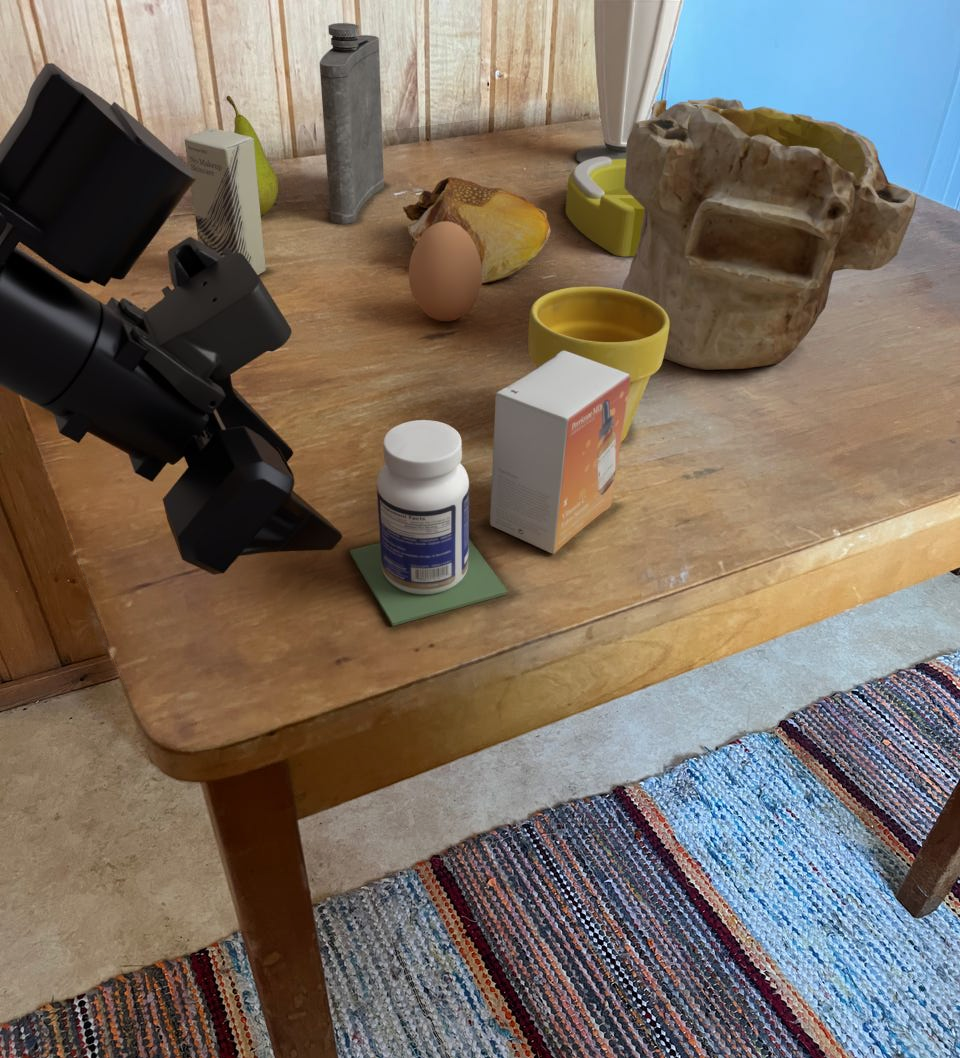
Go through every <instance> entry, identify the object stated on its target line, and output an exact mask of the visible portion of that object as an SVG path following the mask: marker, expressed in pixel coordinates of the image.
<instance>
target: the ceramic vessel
mask: <svg viewBox="0 0 960 1058" xmlns="http://www.w3.org/2000/svg"><path fill="white" fill-rule="evenodd" d="M667 101H668V100H666V99H660V100H658V101H655V103H654V104H653V107H652V112H651V115H650V118H649V120H644V121H640V122H636V123H634V125H633V128H632V131H631V133H630V135H629V138H628V140H627V145H626V171H625V183H624V188H625V189H626V190H627V191H628V192H629V193H630V194H631V195H632V196H633V197H634V198H635V199H636V200H637V201H638V202H639V203H640V204H641V205H642V206H643V207H644V215H643V221H642V225H641V237H640V241H639V244H638V247H637V250H636V253H635V255H634V256H633V258H632V260H631V262H630V266H629V267H630V268H629V272H628V274H627V276H626V277H625V279H624V281H623V284H622V288H621V290H624V291H628V292H632V293H635V294H638V295H641V296H643V297H646V298H648V299H650V300H652V301H653V302H655V303H656V304H658V305H659V306H660V307H662V308H663V309H664V311H665V312H666V313H667V315H668V318H669V322H670V325H669V333H668V339H667V344H666V349H665V353H664V357H663V360H667V361H670V362H672V363H675V364H679V365H681V366H683V367H687V368H689V369H690V368H691V369H698V370H704V371H708V370H709V371H710V370H711V371H713V370H742V369H751V368H756V367H757V368H758V367H764V366H771V365H772V366H773V365H778V364H780V363H782V362H783V361H784V360H785V359H787V357H789V356H790V355H791V354H792V353H793V352H794V351H795V350H796V349H797V348H798V346H799V345H800V343H801V342H802V341H803V340H804V339H805V337H806V336H807V335H808V334H809V332H810V331H811V330H812V329H813V327H814V325H816V322H817V320H818V319H819V317H820V316H821V314H822V313H823V312H824V310H825V309H826V307H827V302H828V300H829V299H828V298H829V294H830V293H829V292H830V288H831V285H832V279H833V275H834V273H835V272H838V271H843V270H855V271H856V270H857V271H874V270H877V269H882V268H883V267H884V266H885V265H887V264H889V263H890V262H891V261H892V260H893V259H894V258H895V257H896V256H897V255H898V253H899V250H900V248H901V246H902V244H903V241H904V237H905V235H906V233H907V231H908V227H909V225H910V223H911V221H912V218H913V215H914V214H915V210H916V202H917V194H916V193H915V192H913V191H911V190H909V189H906V188H904V187H901V186H899V185H896V184H893V183H890V182H889V180H888V177H887V175H886V172H885V170H884V167H883V166H882V164H881V162H880V159H879V151H878V149H877V146H876V145H875V144H874V143H873V141H871V140H870V139H869V138H868V137H866V136H864V135H861V134H860V133H859V132H857V131H856V130H853V129H849V128H848V127H845V126H843V124H840V123H838V122H836V121H827V120H819V119H815V118H813V117H812V116H810V115H806V114H799V113H788V112H785V111H782V110H779V109H776V108H771V107H766V106H760V107H754V108H751V109H746V108H745V107H744V105H743V103H742V101H741V100H739V99H730V100H729V99H726V98H722V97H717V96H715V97H712V98H709V99H708V98H707V99H688V100H687V101H679V102H677V103H675V104H673V105H672V106H670V107H668V109H667V104H668V103H667Z"/></svg>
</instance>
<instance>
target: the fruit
mask: <svg viewBox="0 0 960 1058" xmlns="http://www.w3.org/2000/svg"><path fill="white" fill-rule="evenodd" d="M226 101H227V102H228V103H229V104H230V105H231V107H232V108H233V110H234V112H235V117H234V131H233V132H234V133H237V134H240V135H244V136H249V137H251V138H253V139H254V149H255V162H256V173H257V183H258V194H259V205H260V215H261V217H264V216H265V215H266V214H267V213H268V212H269V211H270V210H271V208H272V207H273V206H274V204H275V202H276V200H277V197H278V194H279V183H278V178H277V175H276V172H275V170H274V169H273V166H272V165H271V164H270V162H269V160H268V158H267V156H266V154H265V151H264V149H263V146H262V143H261V141H260V138H259V135H257V133H256V130H255V129H254V127H253V126H252V124H251V123H250V122H249V119H247V117H245V116H244V115H242V114H240V112H239V110H238V108H237V106H236V104H235V102H234V100H233V99H232V97H231V96H230V95H227V96H226Z"/></svg>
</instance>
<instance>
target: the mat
mask: <svg viewBox="0 0 960 1058" xmlns="http://www.w3.org/2000/svg"><path fill="white" fill-rule="evenodd" d="M349 553H350V556H351V558H352V559H353V561H354V563H355V565H356V566H357V568H358V569H359V571H360V573H361V575H362V576H363V579H364V580H365V582H366V583H367V585H368V587H369V589H370V590H371V592H372V594H373V596H374V597H375V599H376V601H377V602H378V604H379V606H380V608H381V609H382V611H383V613H384V615H385V616H386V618H387V620H388V622H389V623H390V625H391V626H392V627H395V626H399V625H403V624H405V623H411V622H413V621H416V620H420V619H424V618H427V617H431V616H434V615H438V614H443V613H446V612H449V611H453V610H455V609H456V610H457V609H460V608H464V607H467V606H471V605H476V604H478V603H482V602H485V601H489V600H492V599H496V598H500V597H503V596H507V595H508V590H507V589H506V587H505V585H504V584H503V583H502V582H501V580H500V579H499V578H498V576H497V574H495V572H494V570H493V569H492V568H491V567H490V565H489V563H487V561H486V560H485V558H484V557H483V556H482V554H481V553H480V552H479V550H478V549H477V547H476V546H475V545H474V543H473V542H472V540H471V539H470V538H469V553H468V554H469V558H468V569H467V572H466V574H465V576H464V577H463V579H462V580H461V581H460V582H459V583H458V584H457V585H455V586H454V587H452V588H450V589H448V590H446V591H443V592H440V593H435V594H414V593H409V592H406V591H403V590H401V589H399V588H397V587H395V586H394V585H393V584H391V583H390V582H389V581H388V580H387V578H386V577H385V575H384V573H383V570H382V562H381V546H380V542H377V543H374V544H369V545H366V546H362V547H357V548H354V549H350V550H349Z"/></svg>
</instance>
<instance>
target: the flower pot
mask: <svg viewBox="0 0 960 1058" xmlns="http://www.w3.org/2000/svg"><path fill="white" fill-rule="evenodd" d="M529 310H530V311H529V319H528V321H529V322H528V341H527V344H528V345H527V346H528V347H527V348H528V349H527V350H528V354H529V357H530V359H531V360H532V362H533V363H534V364H535V365H536V369H537V368H538V367H540V366H541V365H543V364H544V363H546V362H548V361H549V360H551V359H552V358H554V357H555V356H556V355H557V354H558V353H560V352H561V351H567V352H570V353H573V354H575V355H578V356H581V357H584V358H587V359H589V360H592V361H595V362H598V363H600V364H603V365H606V366H609V367H611V368H614V369H617V370H620V371H622V372H625V373H627V374H630V376H631V378H630V384H629V392H628V398H627V404H626V411H625V419H624V425H623V431H622V437H621V443H622V442H623V441H624V440H625V439H626V437H627V435H628V432H629V430H630V428H631V425H632V423H633V420H634V417H635V415H636V412H637V410H638V407H639V405H640V403H641V400H642V398H643V395H644V393H645V390H646V388H647V385H648V383H649V380H650V378H651V376H653V375H654V374H656V373H657V372H658V371H659V370H660V368H661V366H662V364H663V360H664V358H663V357H664V353H665V349H666V344H667V339H668V333H669V325H670V322H669V318H668V315H667V313H666V312H665V311H664V309H663V308H662V307H660V306H659V305H658V304H656V303H655V302H653V301H652V300H650V299H648V298H646V297H643V296H641V295H638V294H635V293H632V292H628V291H624V290H622V289H619V288H613V287H604V286H573V287H572V286H571V287H566V288H561V289H556V290H553V291H550V292H548V293H545V294H543V295H541V296H540V297H538V298H537V299H536V300H535V301H534V302H533V304H532V305H531V307H530V309H529Z"/></svg>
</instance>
